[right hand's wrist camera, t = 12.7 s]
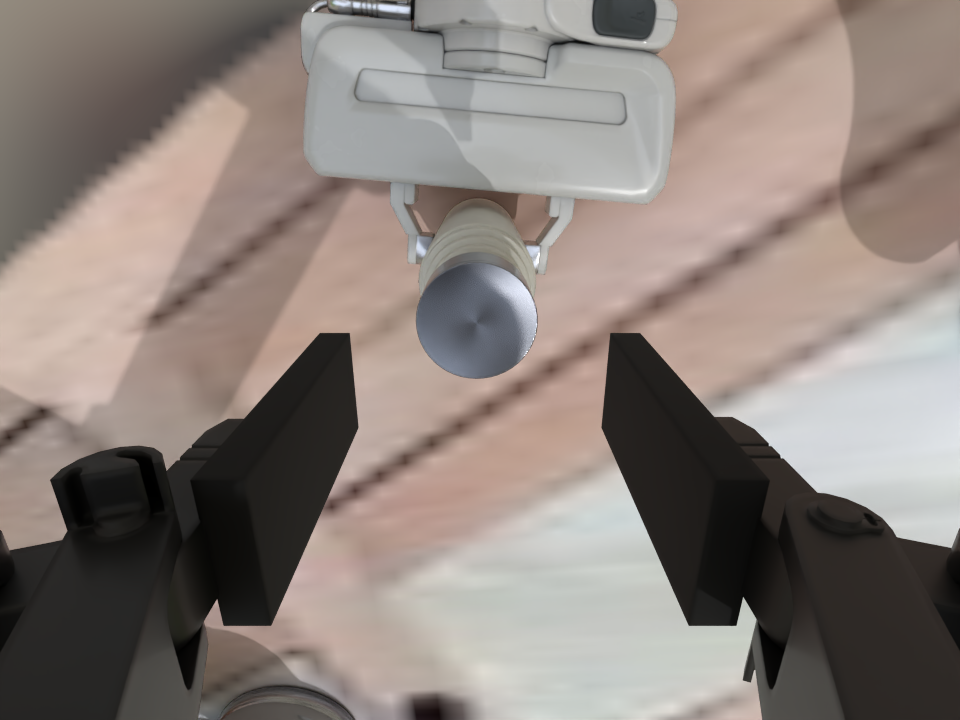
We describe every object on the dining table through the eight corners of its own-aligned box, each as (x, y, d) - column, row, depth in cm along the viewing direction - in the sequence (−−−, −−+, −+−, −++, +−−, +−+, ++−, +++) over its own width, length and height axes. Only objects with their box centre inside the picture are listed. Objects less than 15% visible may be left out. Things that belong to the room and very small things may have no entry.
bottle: (439, 197, 38) (399, 241, 19) (518, 199, 38) (557, 245, 19) (439, 274, 40) (403, 387, 21) (514, 276, 40) (546, 390, 21)
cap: (420, 250, 20) (414, 260, 18) (535, 252, 20) (541, 263, 18) (422, 357, 22) (416, 377, 20) (528, 359, 22) (533, 380, 20)
